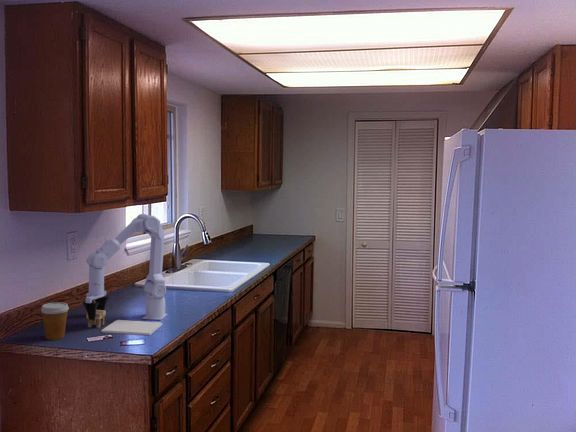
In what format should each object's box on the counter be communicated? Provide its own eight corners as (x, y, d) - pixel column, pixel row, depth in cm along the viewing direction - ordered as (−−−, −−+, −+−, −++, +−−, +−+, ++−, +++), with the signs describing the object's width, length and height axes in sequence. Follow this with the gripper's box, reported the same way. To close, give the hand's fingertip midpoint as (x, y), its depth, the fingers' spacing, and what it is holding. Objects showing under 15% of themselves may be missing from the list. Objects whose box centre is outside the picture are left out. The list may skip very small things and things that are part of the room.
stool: (92, 323, 224) (92, 309, 223) (105, 324, 223) (105, 310, 223) (86, 327, 218) (86, 312, 218) (99, 328, 218) (99, 313, 217)
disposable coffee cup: (36, 336, 205) (36, 304, 204) (62, 332, 211) (62, 300, 210) (46, 343, 198) (46, 309, 197) (73, 338, 204) (73, 305, 203)
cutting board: (117, 321, 228) (117, 319, 228) (162, 324, 226) (162, 322, 226) (101, 332, 213) (101, 330, 213) (149, 335, 211) (149, 333, 211)
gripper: (94, 279, 227) (94, 311, 228) (78, 286, 212) (77, 321, 213) (111, 280, 226) (111, 312, 227) (95, 287, 212) (95, 322, 213)
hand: (96, 316), depth 220 cm, fingers open, 7 cm apart
